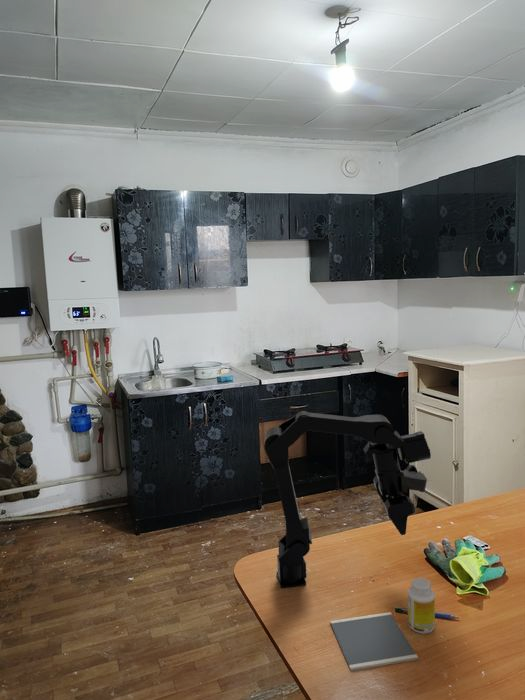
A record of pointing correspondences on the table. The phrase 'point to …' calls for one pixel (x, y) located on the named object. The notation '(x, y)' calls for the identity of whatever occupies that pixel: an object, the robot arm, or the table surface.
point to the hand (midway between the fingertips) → (398, 525)
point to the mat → (372, 641)
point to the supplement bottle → (421, 606)
